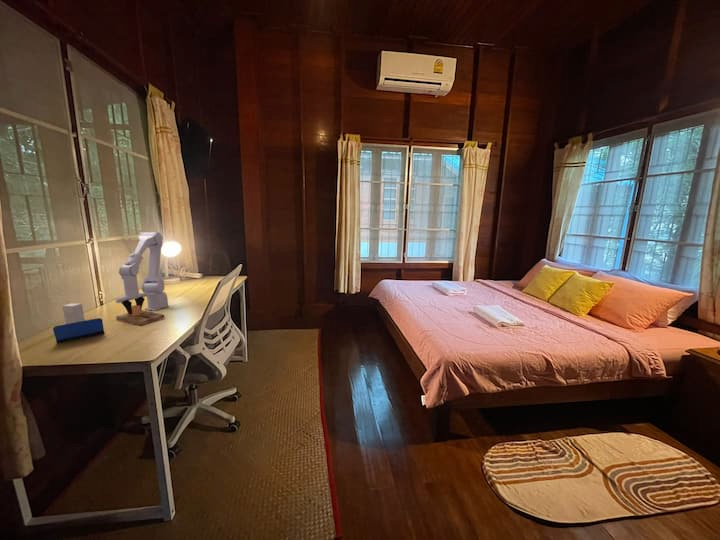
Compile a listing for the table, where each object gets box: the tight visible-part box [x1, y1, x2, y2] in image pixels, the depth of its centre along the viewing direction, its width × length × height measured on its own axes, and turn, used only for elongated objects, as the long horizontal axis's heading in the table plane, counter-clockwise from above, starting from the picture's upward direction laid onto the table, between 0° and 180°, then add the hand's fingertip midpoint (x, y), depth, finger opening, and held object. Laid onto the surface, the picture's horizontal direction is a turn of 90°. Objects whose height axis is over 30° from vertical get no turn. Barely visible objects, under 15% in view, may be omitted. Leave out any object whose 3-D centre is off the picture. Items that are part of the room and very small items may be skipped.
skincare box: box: [61, 303, 86, 324], centre depth 144 cm, size 6×4×12 cm
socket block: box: [115, 309, 165, 326], centre depth 158 cm, size 12×20×2 cm, turn 65°
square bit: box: [129, 304, 142, 317], centre depth 160 cm, size 4×4×5 cm
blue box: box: [52, 317, 105, 345], centre depth 134 cm, size 16×13×9 cm
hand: (134, 312), depth 160 cm, fingers closed on square bit, 4 cm apart
